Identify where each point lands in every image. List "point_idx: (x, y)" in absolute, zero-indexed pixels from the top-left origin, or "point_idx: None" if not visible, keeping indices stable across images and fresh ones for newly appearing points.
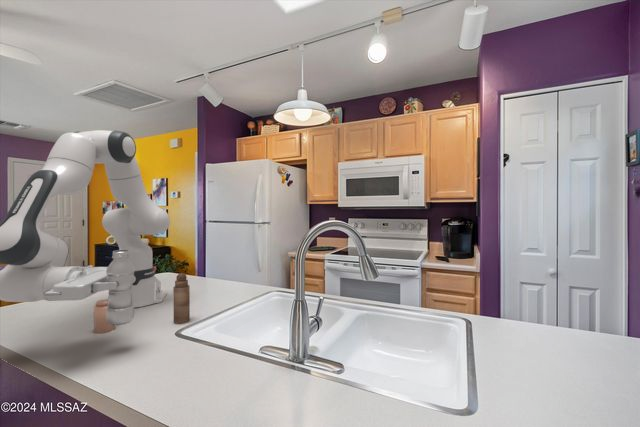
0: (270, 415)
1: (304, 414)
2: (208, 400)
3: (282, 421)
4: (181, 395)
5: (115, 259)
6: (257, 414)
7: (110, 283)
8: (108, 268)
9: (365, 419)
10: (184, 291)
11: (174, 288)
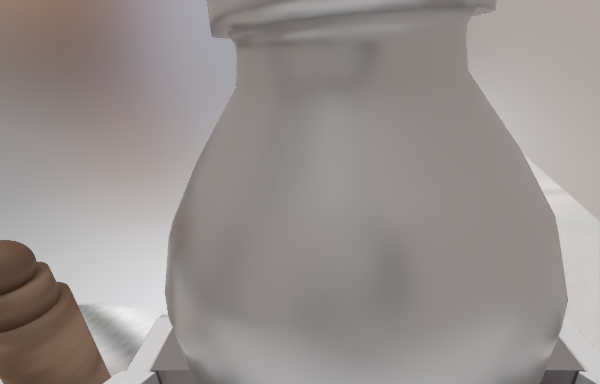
0: (570, 207)
1: (549, 188)
2: (581, 260)
3: (574, 199)
4: (594, 297)
5: (465, 40)
6: (576, 215)
7: (591, 353)
8: (550, 248)
9: (531, 164)
10: (77, 305)
11: (29, 330)
